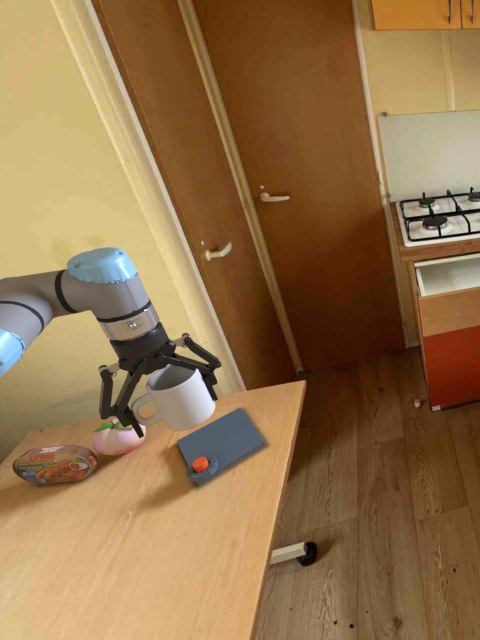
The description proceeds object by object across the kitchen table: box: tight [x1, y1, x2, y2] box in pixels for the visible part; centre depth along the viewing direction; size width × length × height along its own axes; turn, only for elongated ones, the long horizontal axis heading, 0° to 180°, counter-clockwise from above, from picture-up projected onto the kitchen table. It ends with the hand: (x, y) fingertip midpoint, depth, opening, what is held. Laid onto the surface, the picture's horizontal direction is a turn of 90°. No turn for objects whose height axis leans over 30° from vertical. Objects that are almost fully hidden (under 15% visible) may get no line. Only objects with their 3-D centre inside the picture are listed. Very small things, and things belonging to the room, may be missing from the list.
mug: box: [130, 364, 216, 432], centre depth 84 cm, size 12×8×11 cm
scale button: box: [192, 457, 209, 473], centre depth 93 cm, size 3×3×2 cm
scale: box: [176, 406, 267, 487], centre depth 100 cm, size 15×17×3 cm
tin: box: [11, 444, 99, 485], centre depth 92 cm, size 15×3×8 cm, turn 95°
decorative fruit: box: [92, 417, 147, 456], centre depth 98 cm, size 9×8×10 cm
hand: (179, 414), depth 86 cm, fingers closed on mug, 12 cm apart
